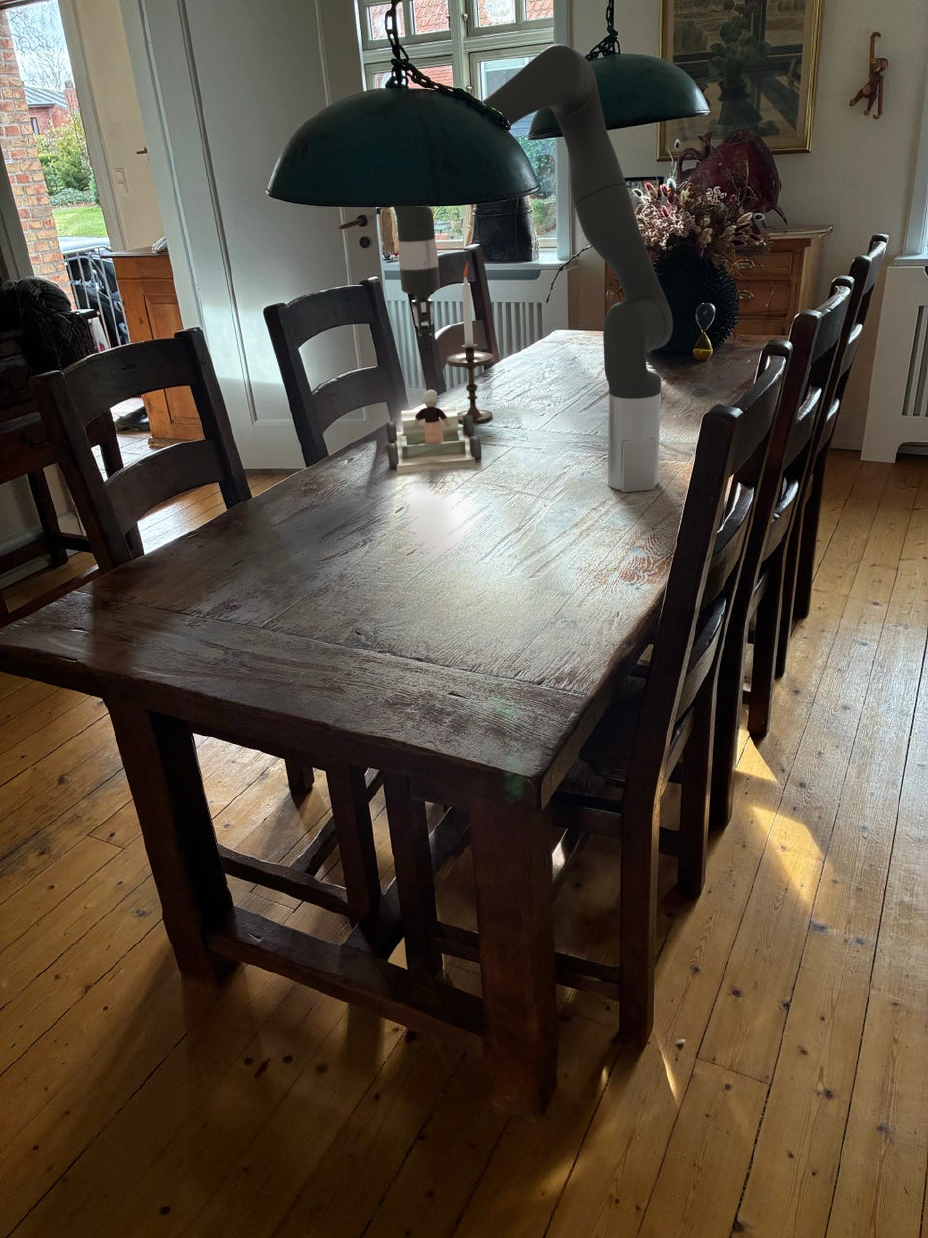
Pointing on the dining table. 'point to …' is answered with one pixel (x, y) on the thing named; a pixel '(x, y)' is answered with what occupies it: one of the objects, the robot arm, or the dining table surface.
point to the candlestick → (470, 359)
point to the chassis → (432, 444)
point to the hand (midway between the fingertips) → (425, 350)
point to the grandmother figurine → (431, 418)
